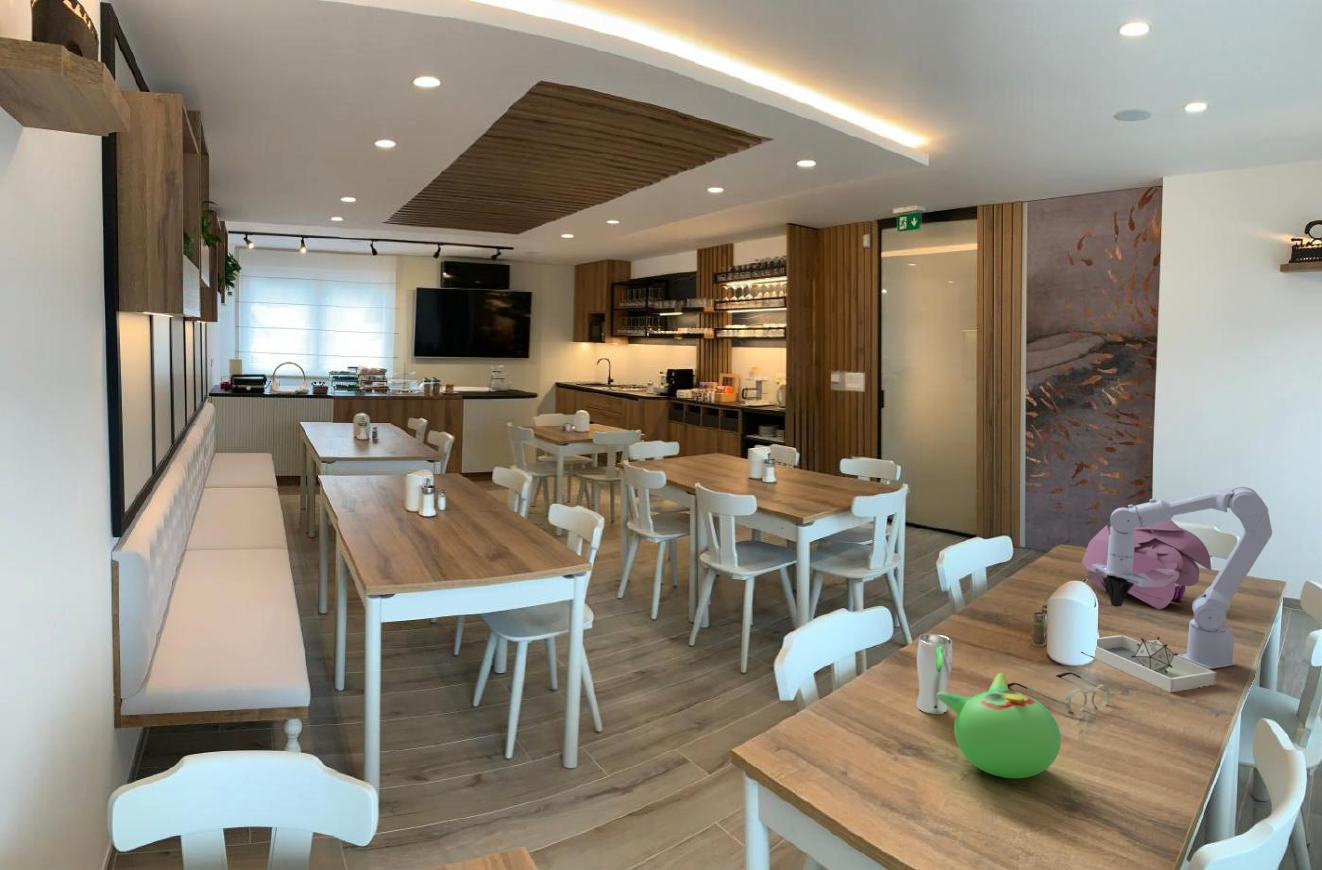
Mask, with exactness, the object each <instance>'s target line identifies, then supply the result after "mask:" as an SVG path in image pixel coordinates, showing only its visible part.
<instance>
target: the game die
mask: <svg viewBox="0 0 1322 870" xmlns="http://www.w3.org/2000/svg"><path fill="white" fill-rule="evenodd" d="M1156 638H1157V639H1149V640H1145V638H1144V637H1140V640H1141V641H1142V642H1141V644H1140V645H1139V644H1137V646H1139V648H1138V650H1137V652H1136V654H1135V656H1131V657H1132V658H1134V657H1135V658H1136V659H1137V660H1138V661H1139V662H1140V663H1141V664H1142V666H1145V667H1146V668H1148V669H1151V670H1153V671H1165V673H1168V671H1167V670H1166V669H1167V668H1168V667H1171V668H1173V667H1172V666H1171V665H1170V664H1171V662H1172V659H1173V657H1174V656H1176V657H1177V656H1178V655H1179V653H1177V652H1175V653H1174V652H1173V651H1171V649H1169V648H1168V644H1167V643H1165V644H1164V643H1163V642H1162V641H1161V640H1160V639H1161V638H1160V636H1157V637H1156Z"/></svg>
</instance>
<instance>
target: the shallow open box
mask: <svg viewBox="0 0 1322 870" xmlns="http://www.w3.org/2000/svg"><path fill="white" fill-rule="evenodd" d="M1096 638H1097V646H1096V650H1095V658H1094V659H1095V660H1096V661H1099V662H1101V663H1102V664H1106V665H1108V666H1110V667H1113V668H1115V669H1117V670H1119V671H1121V672H1124V673H1126V674H1128V675H1130V676H1133V677H1134V678H1137V679H1140V680H1141V681H1144V682H1146V683H1149V684H1150V685H1153V686H1155V687H1157V688H1159V689H1161V690H1164V691H1166V692H1168V693H1174V692H1175V693H1176V692H1180V691H1181V692H1182V691H1186V690H1187V691H1188V690H1193V689H1199V688H1198V687H1200V688H1204V687H1203V686H1206V687H1210V686H1209V685H1212V686H1216V678H1217V671H1214V670H1212V669H1207V668H1204V667H1202V666H1199V665H1197V664H1194V663H1192V662H1189V661H1187V660H1184V659H1182V658H1179V657H1178V656H1177V655H1176V656H1175V655H1174V657H1173V659H1172V662H1171V664H1170V665H1171V666H1172V667H1173V668H1171V667H1168V668H1167V669H1166V670H1167V671H1168V673H1165V671H1153V670H1151V669H1148V668H1146V667H1145V666H1142V664H1141V663H1140V662H1139V661H1138V660H1137V659H1136V658H1135V657H1134V658H1132V657H1131V656H1135V654H1136V652H1137V650H1138V648H1139V646H1137V644H1139V645H1140V644H1141V643H1142V642H1141V641H1139V640H1136V639H1134V638H1131V637H1128V636H1125V635H1123V634H1119V635H1110V636H1103V637H1102V636H1101V637H1096Z"/></svg>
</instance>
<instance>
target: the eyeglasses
mask: <svg viewBox="0 0 1322 870" xmlns="http://www.w3.org/2000/svg"><path fill="white" fill-rule="evenodd" d="M1067 675H1073V676H1075V677H1077V678H1079V679H1081V680H1082V681H1084V682H1086V683H1088V684H1090V685H1092V686H1093V687H1095V688H1094V690H1089V691H1088V690H1087V691H1086V692H1085V691H1084V690H1081V689H1077V688H1076V689H1073V690H1070V691H1069V692H1068V693H1067V695H1066V696H1065V700H1066V701H1064V700H1061V699H1058V698H1056V697H1052V696H1051V695H1048V694H1045V693H1043V692H1040V691H1039V690H1036V689H1034V688H1031V687H1028V686H1026V685H1023V684H1021V683H1017V682H1011V683H1007V686H1008V689H1009V688H1010V687H1012V686H1019V687H1020V688H1023V689H1026V690H1028V691H1031V692H1033V693H1035V694H1037V695H1039V696H1042V697H1044V698H1046V699H1048V700H1051V701H1053V702H1055V703H1059V704H1061V705H1064V706H1065V708H1066V709H1067V710H1068V712H1069V713H1075V712H1074V711H1073V710H1072V709H1071V708H1072V707H1071V701H1072V698H1073V697H1074V696H1075V694H1077V693H1078V692H1082V694H1083V696H1084V701H1081V702H1082V703H1083V704H1082V706H1081V708H1080V709H1079V711H1080V712H1082V711H1083V710H1084V709H1086V705H1087V704H1088V696H1087V694H1090V693H1091V699H1090V702H1091V704H1092V705H1093V707H1094V708H1096V709H1097V708H1098V706H1096V704H1095V695H1096V693H1097V691H1098V690H1099V689H1100V690H1101V691H1103V692H1104V693H1107V696H1106V695H1104V697H1103V700H1102V702H1101V706H1104V707H1106V706H1107V705H1108V703H1109V702H1110V698H1111V696H1114V695H1115V693H1114V692H1112V691H1111V690H1110V688H1109V687H1108V686H1107V685H1104V684H1097V683H1095V682H1093V681H1091V680H1089V679H1087V678H1086V677H1083V676H1080V675H1078V674H1076V673H1074V672H1070V671H1067V672H1064V673H1061V674H1060V673H1059V674H1056V675H1055V677H1057V678H1059V679H1061V678H1062V677H1063V678H1064V677H1065V676H1067Z"/></svg>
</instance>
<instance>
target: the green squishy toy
mask: <svg viewBox="0 0 1322 870" xmlns="http://www.w3.org/2000/svg"><path fill="white" fill-rule="evenodd" d="M1007 682H1008V681H1007V678H1006V676H1005V674H1004V673H1002V672H998V673H997V674H996V676H995V677H994V678H993V680H992V683H991V685H990V686H989V689H988V691H984V692H981V693H978V694H975V695H974V696H971V697H968V696H967V697H966V696H963V695H959V694H953V693H950V692H946V693H944V692H939V693H937V695H936V696H937V698H938V699H939V700H941V701H942V702H943V703H944V704H946V705H947V708H948V707H949V709H951V710H952V711H953V712H954V713H956V716H955V719H954V726H953V729H954V730H953V731H954V737H955V739H956V743H957V745H958V748H959V749H960V751H961V753H962V754H963V755H964V756H965V758H966V759H967V760H968V762H970V763H971V764H972V765H974V766H975V767H976V768H978V770H979V769H980V770H981V771H983V772H985V773H986V774H990V775H992V776H995V777H999V778H1000V777H1001V778H1004V779H1005V778H1006V779H1025V778H1030V777H1034V776H1036V775H1039V774H1041V773H1042V772H1044V771H1045V770H1047V769H1049V767H1050V766H1052V764H1053V763H1054V762H1055V760H1056V759H1057V757H1058V755H1059V752H1060V750H1061V745H1062V743H1061V742H1062V740H1061V739H1062V737H1061V731H1060V728H1059V725H1058V723H1057V721H1056V719H1055V717H1054V716H1053V714H1052V713H1051V712H1050V711H1049V709H1048V708H1047V707H1046V706H1045V705H1043V704H1042V703H1041V702H1039V701H1038V700H1036V699H1034V698H1033V697H1030V696H1028V695H1026V694H1023V693H1020V692H1017V691H1013V690H1009V688H1008V686H1007V684H1008V683H1007Z"/></svg>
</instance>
